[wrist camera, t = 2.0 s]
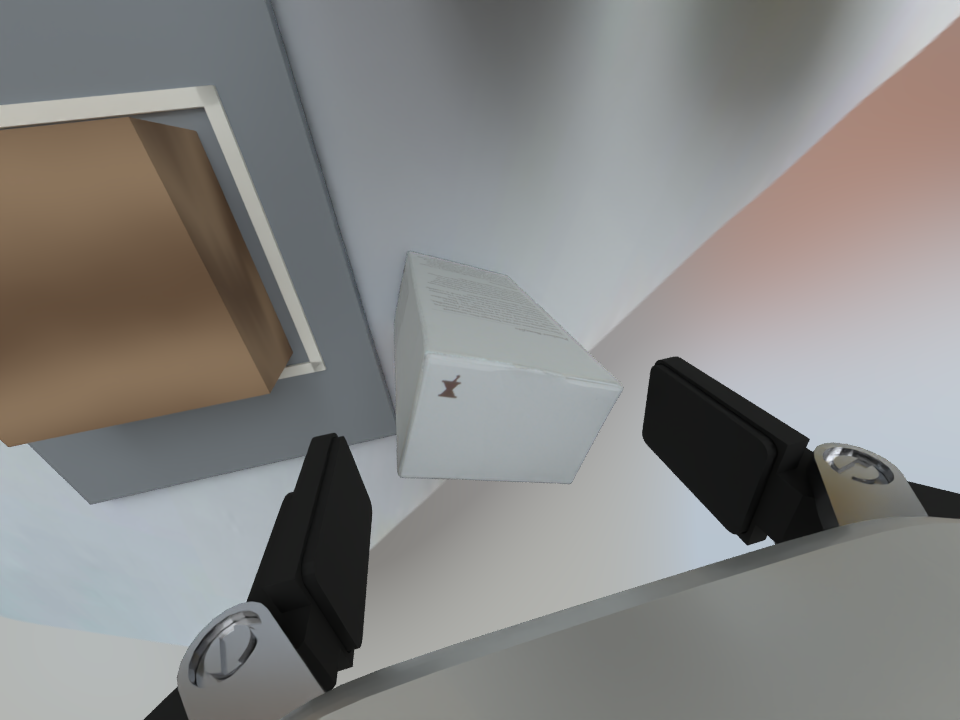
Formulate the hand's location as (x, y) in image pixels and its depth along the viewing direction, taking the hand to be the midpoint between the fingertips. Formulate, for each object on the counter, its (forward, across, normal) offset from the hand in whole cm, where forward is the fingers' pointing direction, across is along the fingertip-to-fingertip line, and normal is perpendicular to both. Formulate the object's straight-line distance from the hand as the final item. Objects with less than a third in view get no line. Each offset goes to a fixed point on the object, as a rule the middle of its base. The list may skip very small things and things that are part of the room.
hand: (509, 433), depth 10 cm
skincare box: (+12, 0, -1) cm, 12 cm away
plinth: (+10, +14, -5) cm, 18 cm away
